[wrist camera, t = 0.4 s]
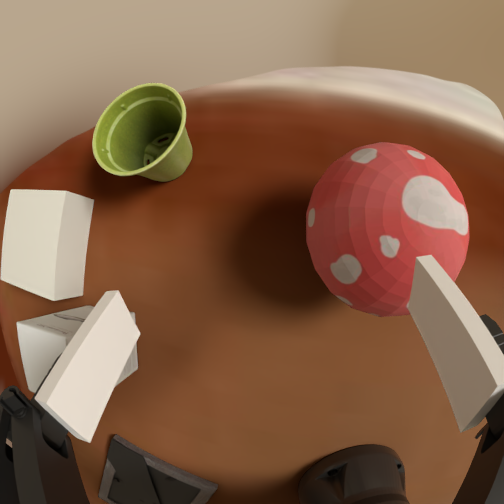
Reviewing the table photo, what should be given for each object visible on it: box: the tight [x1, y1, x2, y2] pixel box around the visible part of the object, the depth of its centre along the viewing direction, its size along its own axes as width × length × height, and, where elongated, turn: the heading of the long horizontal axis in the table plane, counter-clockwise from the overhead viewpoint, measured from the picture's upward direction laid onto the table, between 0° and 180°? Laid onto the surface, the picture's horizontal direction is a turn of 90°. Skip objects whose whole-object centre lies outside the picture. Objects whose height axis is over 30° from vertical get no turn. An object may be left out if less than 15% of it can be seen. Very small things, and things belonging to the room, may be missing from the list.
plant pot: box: [92, 83, 192, 182], centre depth 25 cm, size 9×9×9 cm
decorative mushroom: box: [306, 142, 469, 317], centre depth 21 cm, size 13×13×15 cm
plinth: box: [1, 190, 94, 301], centre depth 28 cm, size 12×12×6 cm
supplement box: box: [17, 306, 138, 393], centre depth 24 cm, size 7×7×13 cm
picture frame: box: [98, 434, 218, 504], centre depth 29 cm, size 16×2×21 cm
